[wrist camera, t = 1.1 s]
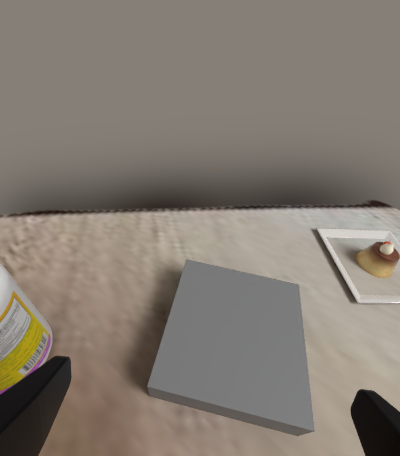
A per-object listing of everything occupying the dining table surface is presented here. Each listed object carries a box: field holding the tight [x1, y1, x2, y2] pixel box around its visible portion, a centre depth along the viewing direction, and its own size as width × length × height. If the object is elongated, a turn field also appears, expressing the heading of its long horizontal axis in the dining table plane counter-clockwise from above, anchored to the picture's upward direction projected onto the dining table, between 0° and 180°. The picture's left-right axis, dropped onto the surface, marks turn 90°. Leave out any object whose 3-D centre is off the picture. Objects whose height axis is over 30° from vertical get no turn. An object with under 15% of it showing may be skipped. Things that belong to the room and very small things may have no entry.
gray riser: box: [147, 259, 314, 436], centre depth 23 cm, size 12×12×3 cm
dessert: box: [316, 228, 400, 303], centre depth 31 cm, size 12×12×5 cm
